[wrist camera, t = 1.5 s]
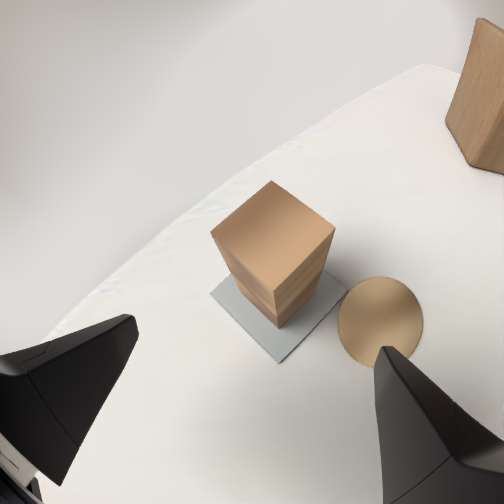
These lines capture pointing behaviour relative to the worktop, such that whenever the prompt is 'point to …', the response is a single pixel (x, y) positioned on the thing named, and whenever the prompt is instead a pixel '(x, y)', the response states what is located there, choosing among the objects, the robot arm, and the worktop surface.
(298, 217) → the walnut block
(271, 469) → the worktop surface
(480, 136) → the block
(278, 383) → the worktop surface
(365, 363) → the cork coaster
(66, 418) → the robot arm
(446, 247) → the worktop surface
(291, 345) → the tile
